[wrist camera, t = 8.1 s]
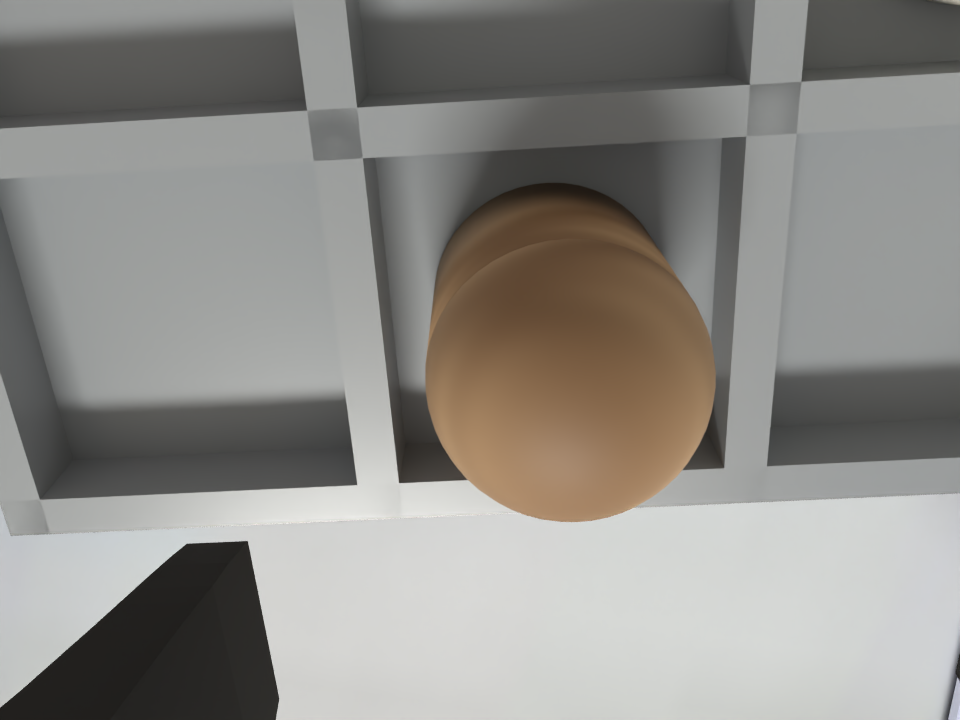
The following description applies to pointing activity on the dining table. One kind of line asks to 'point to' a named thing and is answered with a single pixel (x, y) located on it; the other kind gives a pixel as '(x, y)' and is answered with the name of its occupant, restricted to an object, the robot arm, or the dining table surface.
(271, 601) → the dining table surface
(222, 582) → the robot arm
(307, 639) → the dining table surface
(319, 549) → the dining table surface
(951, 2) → the cream egg
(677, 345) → the brown egg
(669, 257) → the egg tray
